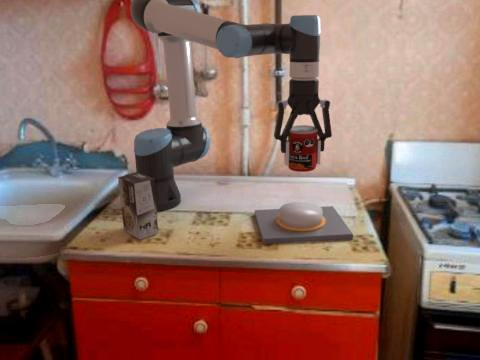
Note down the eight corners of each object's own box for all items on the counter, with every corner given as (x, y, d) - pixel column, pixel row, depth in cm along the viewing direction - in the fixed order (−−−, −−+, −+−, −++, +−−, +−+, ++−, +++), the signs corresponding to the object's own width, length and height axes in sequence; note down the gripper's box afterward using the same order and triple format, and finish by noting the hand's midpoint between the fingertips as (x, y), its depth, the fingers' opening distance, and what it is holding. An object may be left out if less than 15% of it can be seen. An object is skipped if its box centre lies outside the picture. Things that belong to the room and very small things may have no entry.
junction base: (254, 214, 145) (254, 199, 144) (332, 210, 147) (333, 195, 146) (263, 244, 126) (263, 226, 125) (352, 239, 128) (353, 221, 127)
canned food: (283, 170, 130) (283, 130, 126) (294, 162, 136) (295, 124, 133) (310, 173, 126) (311, 132, 123) (320, 165, 133) (321, 126, 129)
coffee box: (159, 233, 134) (155, 178, 129) (139, 240, 130) (133, 183, 125) (142, 223, 141) (137, 171, 135) (122, 230, 137) (117, 176, 131)
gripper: (266, 81, 119) (266, 169, 127) (347, 79, 121) (343, 165, 128) (262, 77, 126) (262, 161, 134) (339, 75, 128) (335, 158, 135)
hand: (302, 163), depth 131 cm, fingers closed on canned food, 8 cm apart
